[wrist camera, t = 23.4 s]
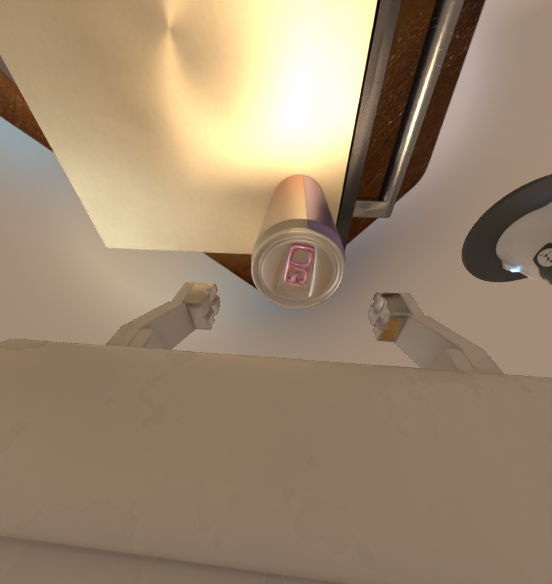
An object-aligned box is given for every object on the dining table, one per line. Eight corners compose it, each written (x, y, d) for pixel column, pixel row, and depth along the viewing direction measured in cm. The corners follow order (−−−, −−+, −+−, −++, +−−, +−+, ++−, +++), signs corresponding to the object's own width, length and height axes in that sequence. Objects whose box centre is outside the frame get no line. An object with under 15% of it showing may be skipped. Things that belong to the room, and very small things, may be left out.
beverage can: (330, 178, 22) (365, 236, 11) (316, 231, 26) (331, 317, 14) (275, 169, 22) (250, 217, 11) (269, 223, 26) (245, 303, 14)
